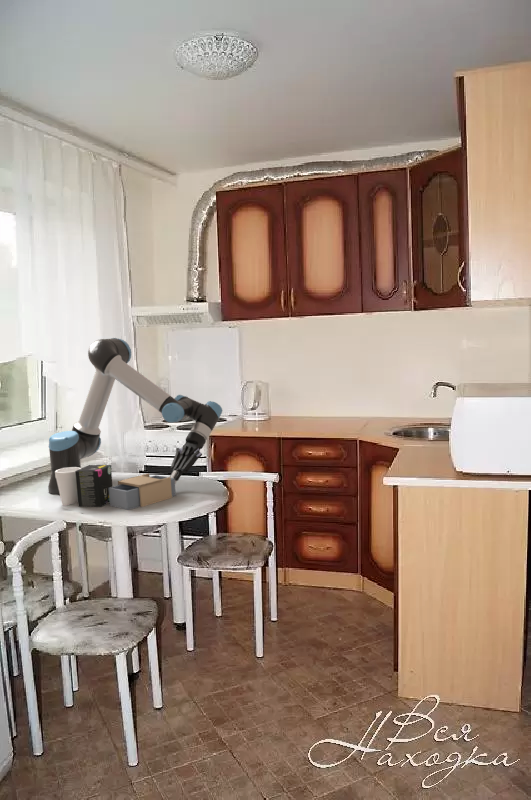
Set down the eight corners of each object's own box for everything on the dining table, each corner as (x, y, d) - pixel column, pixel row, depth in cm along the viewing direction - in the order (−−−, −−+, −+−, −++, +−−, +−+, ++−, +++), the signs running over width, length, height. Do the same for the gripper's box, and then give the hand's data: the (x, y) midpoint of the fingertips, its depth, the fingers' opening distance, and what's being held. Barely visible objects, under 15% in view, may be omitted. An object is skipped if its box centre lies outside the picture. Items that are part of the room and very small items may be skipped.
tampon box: (101, 511, 231) (98, 470, 230) (77, 510, 233) (74, 470, 232) (114, 502, 242) (111, 464, 240) (91, 502, 244) (88, 464, 242)
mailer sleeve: (119, 505, 238) (117, 481, 237) (149, 496, 248) (148, 473, 247) (142, 510, 229) (140, 485, 228) (172, 501, 240) (170, 477, 239)
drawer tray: (109, 506, 233) (108, 487, 232) (157, 493, 249) (156, 475, 249) (128, 511, 226) (126, 491, 225) (175, 496, 242) (174, 478, 242)
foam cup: (54, 507, 239) (51, 473, 237) (63, 500, 248) (60, 467, 247) (79, 506, 238) (76, 472, 237) (87, 500, 248) (84, 466, 246)
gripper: (214, 443, 255) (186, 494, 244) (192, 440, 263) (163, 489, 253) (204, 431, 250) (174, 483, 240) (181, 429, 259) (152, 479, 248)
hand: (169, 486), depth 246 cm, fingers closed
